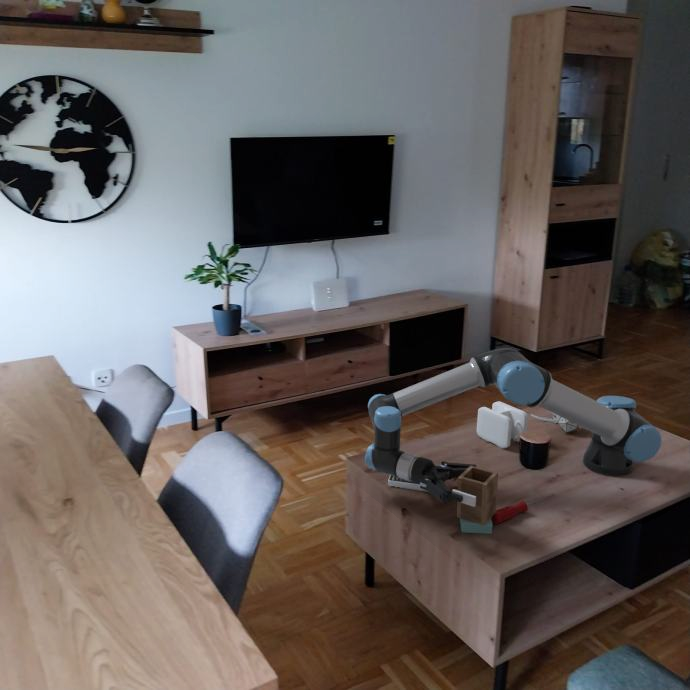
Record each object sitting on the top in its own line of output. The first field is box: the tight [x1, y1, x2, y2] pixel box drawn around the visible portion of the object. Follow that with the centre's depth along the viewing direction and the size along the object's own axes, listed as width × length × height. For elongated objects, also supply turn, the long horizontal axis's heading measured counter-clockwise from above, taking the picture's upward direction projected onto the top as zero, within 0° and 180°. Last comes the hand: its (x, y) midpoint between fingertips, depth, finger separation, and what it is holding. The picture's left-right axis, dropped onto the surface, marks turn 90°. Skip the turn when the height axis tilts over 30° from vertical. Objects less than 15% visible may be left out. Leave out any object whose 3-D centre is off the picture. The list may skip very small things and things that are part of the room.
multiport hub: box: [387, 475, 429, 493], centre depth 214 cm, size 4×14×2 cm, turn 75°
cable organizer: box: [476, 401, 529, 449], centre depth 244 cm, size 15×11×12 cm
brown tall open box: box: [456, 466, 499, 526], centre depth 191 cm, size 8×8×12 cm
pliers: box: [529, 410, 560, 423], centre depth 262 cm, size 10×2×15 cm
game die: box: [554, 417, 580, 435], centre depth 251 cm, size 9×8×10 cm
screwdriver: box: [491, 493, 557, 525], centre depth 201 cm, size 4×25×4 cm, turn 123°
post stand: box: [459, 518, 493, 535], centre depth 193 cm, size 8×8×9 cm
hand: (486, 490), depth 189 cm, fingers open, 13 cm apart
